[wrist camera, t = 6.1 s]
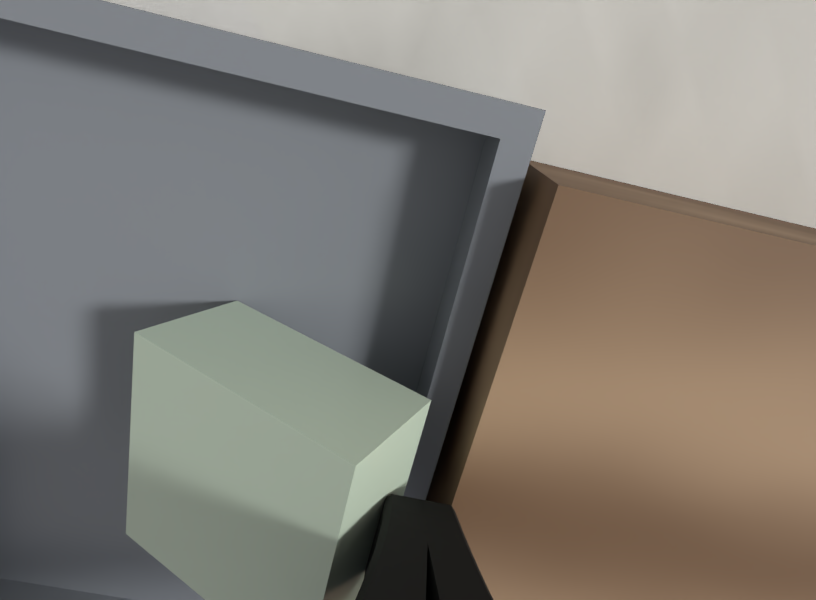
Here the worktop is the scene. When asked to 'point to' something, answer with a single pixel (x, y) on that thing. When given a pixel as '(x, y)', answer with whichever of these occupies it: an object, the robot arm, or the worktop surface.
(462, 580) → the robot arm
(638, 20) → the worktop surface
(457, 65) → the worktop surface
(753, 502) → the wooden cutting board
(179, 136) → the tray
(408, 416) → the block
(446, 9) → the worktop surface
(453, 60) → the worktop surface
